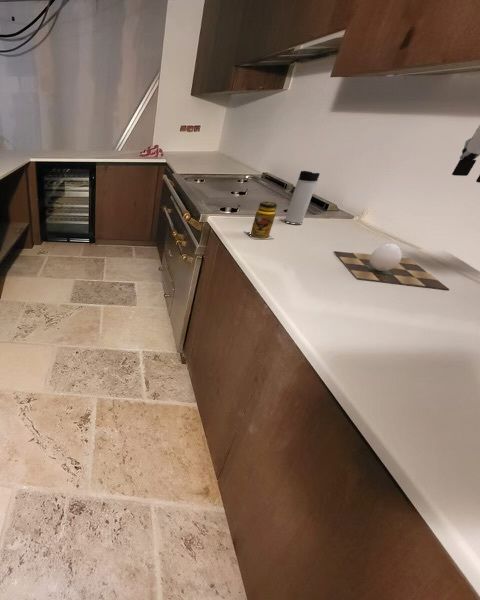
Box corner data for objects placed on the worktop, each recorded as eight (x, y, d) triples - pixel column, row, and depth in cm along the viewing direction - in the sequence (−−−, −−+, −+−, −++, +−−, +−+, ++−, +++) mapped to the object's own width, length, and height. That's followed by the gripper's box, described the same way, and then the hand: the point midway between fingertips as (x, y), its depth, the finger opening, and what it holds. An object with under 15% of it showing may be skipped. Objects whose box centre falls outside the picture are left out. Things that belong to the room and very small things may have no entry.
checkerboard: (408, 259, 99) (409, 258, 98) (448, 290, 83) (449, 288, 82) (333, 252, 104) (334, 250, 104) (356, 279, 88) (357, 277, 88)
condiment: (253, 239, 115) (263, 205, 108) (243, 231, 122) (252, 199, 116) (274, 239, 114) (285, 205, 108) (262, 231, 122) (272, 199, 115)
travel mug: (280, 221, 131) (297, 170, 121) (290, 219, 134) (307, 168, 123) (295, 226, 126) (313, 172, 116) (305, 223, 129) (324, 170, 119)
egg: (367, 272, 91) (380, 245, 87) (362, 263, 95) (375, 238, 91) (396, 276, 88) (411, 250, 84) (390, 267, 93) (404, 242, 89)
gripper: (573, 101, 67) (515, 186, 76) (509, 102, 81) (467, 173, 90) (525, 102, 69) (475, 184, 78) (471, 102, 83) (434, 172, 92)
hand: (471, 178), depth 84 cm, fingers open, 9 cm apart
